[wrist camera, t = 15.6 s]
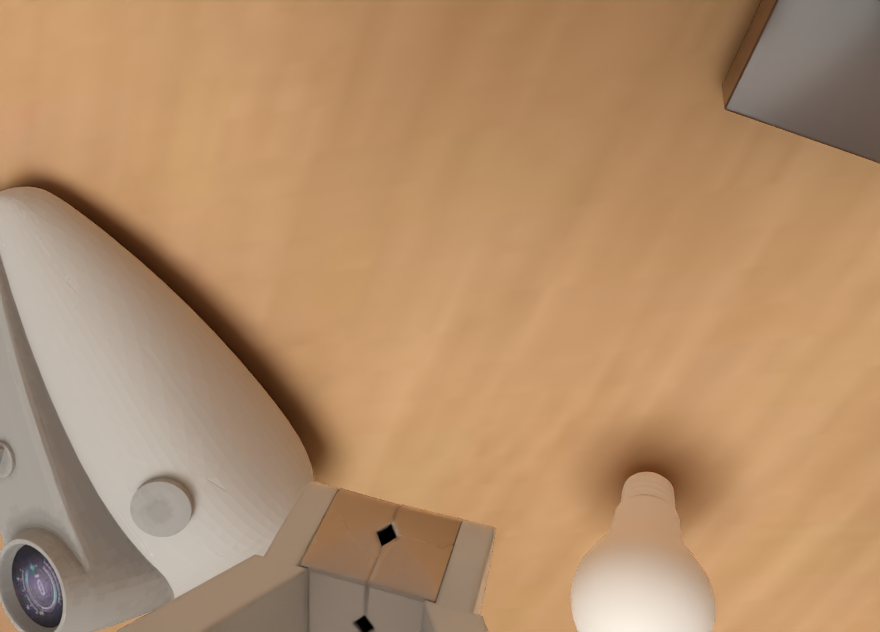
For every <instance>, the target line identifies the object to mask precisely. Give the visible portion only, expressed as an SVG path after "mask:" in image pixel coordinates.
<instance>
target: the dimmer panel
mask: <svg viewBox="0 0 880 632" xmlns="http://www.w3.org/2000/svg"><path fill="white" fill-rule="evenodd" d="M722 92H723V100H724V108H725V109H726V110H728V111H731V112H734V113H736V114H739V115H742V116H745V117H748V118H751V119H754V120H757V121H759V122H762V123H765V124H768V125H771V126H774V127H777V128H780V129H782V130H785V131H788V132H791V133H794V134H797V135H800V136H803V137H805V138H808V139H811V140H814V141H817V142H820V143H823V144H826V145H828V146H831V147H834V148H837V149H840V150H843V151H846V152H849V153H851V154H854V155H857V156H860V157H863V158H866V159H869V160H872V161H874V162H877V163H880V0H762V2H761V4H760V6H759V8H758V10H757V12H756V14H755V16H754V18H753V21H752V23H751V25H750V27H749V29H748V31H747V33H746V35H745V38H744V40H743V42H742V44H741V46H740V48H739V50H738V52H737V55H736V57H735V59H734V61H733V63H732V65H731V67H730V69H729V72H728V74H727V76H726V78H725V80H724V82H723V84H722Z"/></svg>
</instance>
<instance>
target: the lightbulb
mask: <svg viewBox="0 0 880 632" xmlns="http://www.w3.org/2000/svg"><path fill="white" fill-rule="evenodd" d="M570 596H571V608H572V615H573V619H574V622H575V625H576V628H577V631H578V632H712V630H713V626H714V622H715V598H714V594H713V590H712V587H711V584H710V581H709V578H708V576H707V574H706V572H705V571H704V569H703V567H702V566H701V564H700V563H699V561H698V560H697V559H696V557H695V556H694V555H693V553H692V552H691V551H690V550H689V549H688V548H687V546H686V545H685V543H684V541H683V539H682V535H681V528H680V519H679V516H678V514H677V512H676V510H675V497H674V490H673V487H672V485H671V483H670V482H669V481H668V480H667V479H666V478H665V477H663V476H661V475H659V474H657V473H653V472H640V473H636V474H634V475H632V476H630V477H629V478H628V479H627V480H626V482H625V483H624V487H623V490H622V495H621V501H620V504H619V505H618V507H617V508H616V510H615V513H614V517H613V522H612V525H611V527H610V530H609V531H608V533H607V534H606V535H605V536H604V537H603V538H602V539H601V540H599V541H598V542H597V543H596V544H595V545H594V547H593V548H592V549H591V550H590V551H589V552H588V553H587V554H586V555H585V556H584V557H583V559H582V560H581V562H580V564H579V566H578V568H577V570H576V572H575V574H574V578H573V582H572V587H571V594H570Z"/></svg>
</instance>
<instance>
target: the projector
mask: <svg viewBox="0 0 880 632" xmlns="http://www.w3.org/2000/svg"><path fill="white" fill-rule="evenodd" d="M310 481H314V475H313V470H312V466H311V463H310V460H309V457H308V454H307V452H306V450H305V448H304V446H303V444H302V442H301V440H300V438H299V437H298V435H297V433H296V432H295V430H294V429H293V427H292V426H291V424H290V423H289V421H288V420H287V418H286V417H285V416H284V414H283V413H282V412H281V410H280V409H279V407H278V406H277V405H276V403H275V402H274V401H273V400H272V398H271V397H270V396H269V395H268V393H267V392H266V391H265V390H264V388H263V387H262V386H261V385H260V383H259V382H258V381H257V380H256V379H255V377H254V376H253V375H252V374H251V373H250V372H249V370H248V369H247V368H246V367H245V366H244V365H243V363H242V362H241V361H240V360H239V359H238V358H237V357H236V355H235V354H234V353H233V352H232V351H231V350H230V349H229V348H228V347H227V346H226V344H225V343H224V342H223V341H222V340H221V339H220V338H219V337H218V336H217V335H216V333H215V332H214V331H213V330H212V329H211V328H210V327H209V326H208V325H207V324H206V323H205V322H204V321H203V320H202V319H201V318H200V317H199V316H198V315H197V314H196V313H195V312H194V311H193V310H192V309H191V308H190V307H189V306H188V305H187V304H186V303H185V302H184V301H183V300H182V299H181V298H180V297H179V296H178V295H177V294H176V293H175V292H174V291H173V290H172V289H171V288H170V287H168V286H167V285H166V284H165V283H164V282H163V281H162V280H161V279H160V278H159V277H157V276H156V275H155V274H154V273H153V272H152V271H151V270H150V269H149V268H147V267H146V266H145V265H144V264H143V263H142V262H141V261H140V260H139V259H137V258H136V257H135V256H134V255H133V254H131V253H130V252H129V251H128V250H127V249H125V248H124V247H123V246H122V245H121V244H119V243H118V242H117V241H116V240H115V239H114V238H112V237H111V236H110V235H109V234H107V233H106V232H105V231H103V230H102V229H101V228H100V227H98V226H97V225H96V224H95V223H93V222H92V221H91V220H89V219H88V218H87V217H86V216H84V215H83V214H81V213H80V212H79V211H77V210H76V209H75V208H73V207H72V206H70V205H69V204H68V203H66V202H65V201H63V200H62V199H60V198H58V197H57V196H55V195H53V194H52V193H50V192H48V191H45V190H43V189H40V188H36V187H15V188H10V189H6V190H3V191H0V534H1V537H2V540H3V542H4V545H5V546H4V547H3V548H2V550H1V551H0V601H1V604H2V606H3V609H4V611H5V613H6V614H7V616H8V618H9V619H10V621H11V622H12V624H13V625H14V626H15V627H16V628H17V629H18V630H19V631H20V632H94V631H97V630H100V629H104V628H107V627H110V626H114V625H116V624H119V623H122V622H124V621H127V620H130V619H133V618H135V617H138V616H141V615H143V614H146V613H148V612H150V611H153V610H155V609H157V608H159V607H161V606H162V605H164V604H166V603H168V602H170V601H171V600H173V599H175V598H177V597H179V596H180V595H182V594H184V593H186V592H188V591H189V590H191V589H193V588H195V587H197V586H199V585H200V584H202V583H204V582H206V581H208V580H209V579H211V578H213V577H215V576H217V575H218V574H220V573H222V572H224V571H226V570H227V569H229V568H231V567H233V566H235V565H236V564H238V563H240V562H242V561H244V560H246V559H247V558H249V557H251V556H253V555H259V556H263V557H264V555H265V553H266V552H267V550H268V548H269V546H270V545H271V543H272V541H273V539H274V538H275V536H276V534H277V532H278V531H279V529H280V527H281V525H282V524H283V522H284V520H285V518H286V517H287V515H288V513H289V511H290V510H291V508H292V506H293V504H294V503H295V501H296V499H297V497H298V496H299V494H300V492H301V490H302V489H303V487H304V486H305V485H306V484H307V483H309V482H310Z"/></svg>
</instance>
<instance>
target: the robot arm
mask: <svg viewBox="0 0 880 632" xmlns="http://www.w3.org/2000/svg"><path fill="white" fill-rule="evenodd" d="M495 533H496V528H495V527H492V526H487V525H483V524H479V523H475V522H471V521H467V520H463V519H459V518H455V517H451V516H447V515H443V514H439V513H434V512H430V511H426V510H422V509H418V508H414V507H410V506H405V505H399V504H395V503H392V502H388V501H384V500H381V499H377V498H374V497H370V496H367V495H363V494H359V493H356V492H352V491H349V490H345V489H342V488H341V489H340V488H336V487H332V486H329V485H325V484H322V483H318V482H314V481H310V482H309V483H307V484H306V485H305V486H304V487H303V489H302V490H301V492H300V494H299V496H298V497H297V499H296V501H295V503H294V504H293V506H292V508H291V510H290V511H289V513H288V515H287V517H286V518H285V520H284V522H283V524H282V525H281V527H280V529H279V531H278V532H277V534H276V536H275V538H274V539H273V541H272V543H271V545H270V546H269V548H268V550H267V552H266V553H265V555H264V557H263V556H259V555H253V556H251V557H249V558H247V559H246V560H244V561H242V562H240V563H238V564H236V565H235V566H233V567H231V568H229V569H227V570H226V571H224V572H222V573H220V574H218V575H217V576H215V577H213V578H211V579H209V580H208V581H206V582H204V583H202V584H200V585H199V586H197V587H195V588H193V589H191V590H189V591H188V592H186V593H184V594H182V595H180V596H179V597H177V598H175V599H173V600H171V601H170V602H168V603H166V604H164V605H162V606H161V607H159V608H157V609H155V610H153V611H151V612H150V613H148V614H146V615H144V616H142V617H141V618H139V619H137V620H135V621H133V622H132V623H130V624H128V625H126V626H124V627H123V628H121V629H119V630H117V632H488V629H487V627H486V624H485V622H484V619H483V617H482V616H480V613H481V608H482V603H483V598H484V593H485V588H486V583H487V578H488V573H489V567H490V562H491V556H492V550H493V545H494V539H495Z"/></svg>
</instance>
